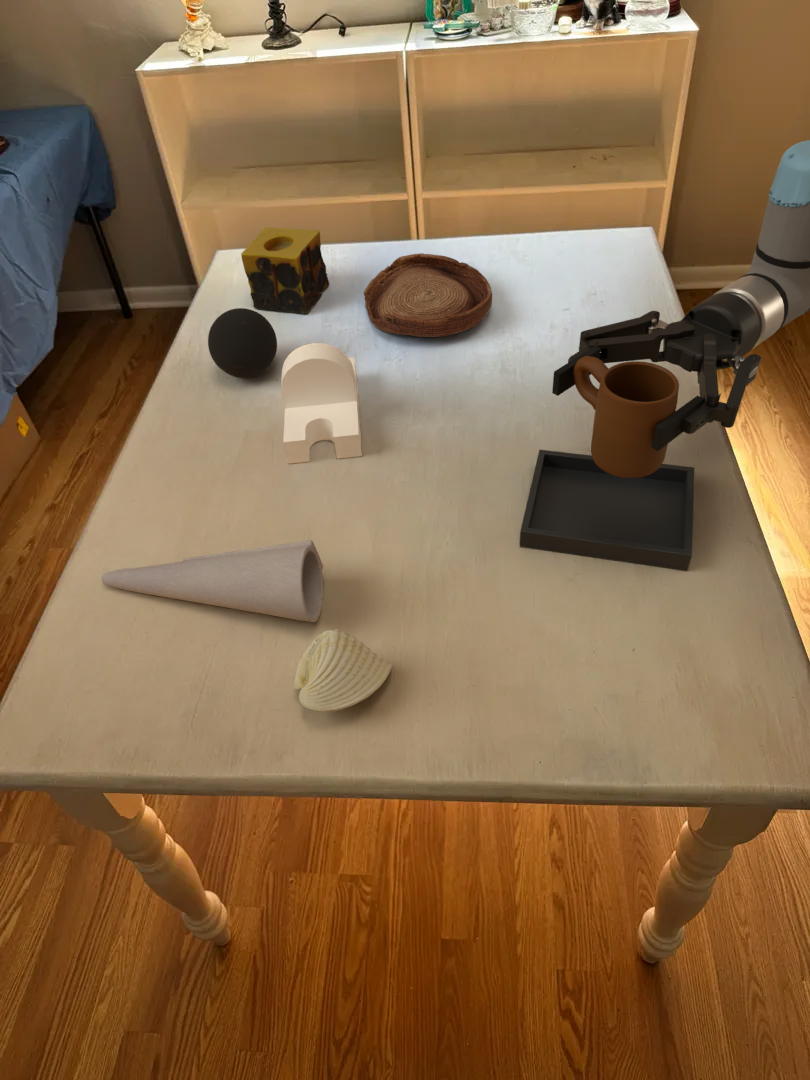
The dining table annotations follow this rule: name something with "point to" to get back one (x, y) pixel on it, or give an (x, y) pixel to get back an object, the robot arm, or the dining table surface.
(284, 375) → the block with arch cutout
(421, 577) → the dining table surface
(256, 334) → the speaker
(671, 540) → the tray
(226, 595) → the planter
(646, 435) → the mug
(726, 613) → the dining table surface
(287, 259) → the candle
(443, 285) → the basket
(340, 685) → the seashell
